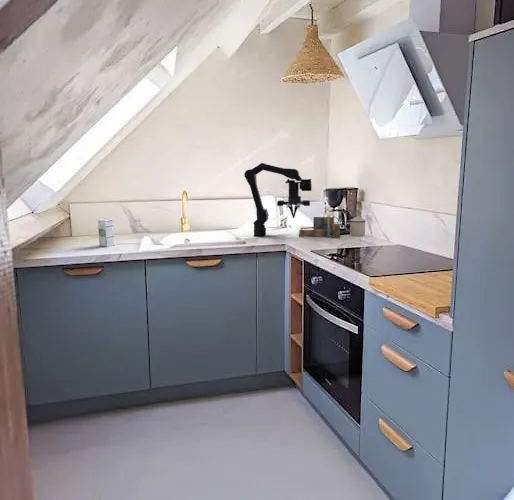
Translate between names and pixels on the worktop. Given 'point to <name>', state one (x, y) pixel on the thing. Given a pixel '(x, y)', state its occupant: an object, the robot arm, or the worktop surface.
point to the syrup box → (106, 232)
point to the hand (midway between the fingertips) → (293, 218)
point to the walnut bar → (313, 233)
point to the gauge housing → (321, 224)
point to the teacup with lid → (357, 226)
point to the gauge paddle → (328, 228)
